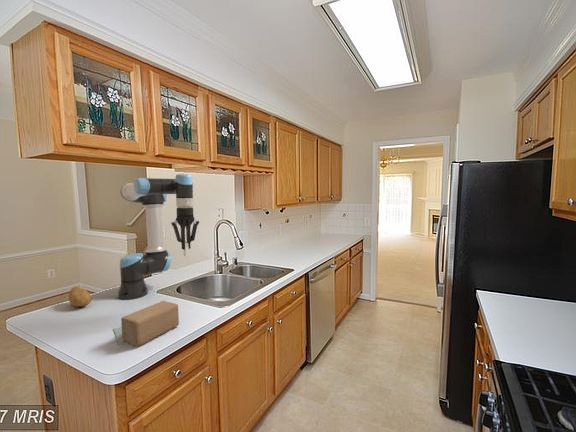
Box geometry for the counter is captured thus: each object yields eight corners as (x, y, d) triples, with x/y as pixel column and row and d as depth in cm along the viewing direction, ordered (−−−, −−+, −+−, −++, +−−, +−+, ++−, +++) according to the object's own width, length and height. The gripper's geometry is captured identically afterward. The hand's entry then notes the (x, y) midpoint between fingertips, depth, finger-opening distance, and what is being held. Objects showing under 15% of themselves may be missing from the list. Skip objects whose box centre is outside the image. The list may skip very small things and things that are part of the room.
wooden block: (164, 321, 130) (121, 341, 112) (163, 299, 129) (119, 316, 111) (180, 325, 125) (137, 347, 107) (179, 303, 124) (136, 322, 106)
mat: (113, 329, 123) (113, 328, 123) (163, 317, 135) (163, 316, 135) (118, 345, 110) (118, 344, 110) (172, 330, 122) (172, 329, 122)
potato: (73, 313, 140) (72, 294, 139) (66, 304, 150) (65, 287, 150) (94, 307, 146) (92, 289, 146) (85, 300, 157) (84, 283, 156)
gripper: (172, 208, 128) (174, 259, 130) (201, 207, 136) (202, 255, 138) (168, 207, 134) (170, 256, 136) (195, 206, 142) (196, 252, 144)
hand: (186, 255), depth 137 cm, fingers closed
